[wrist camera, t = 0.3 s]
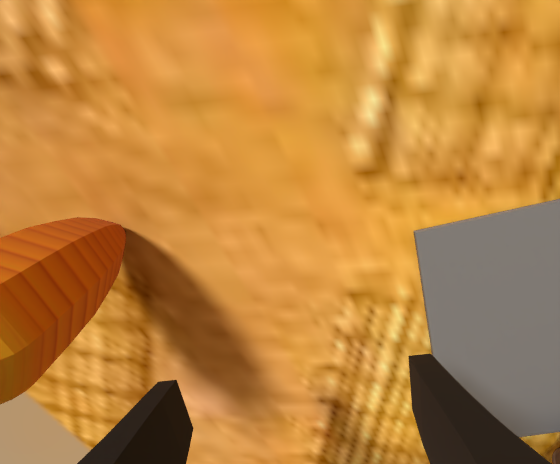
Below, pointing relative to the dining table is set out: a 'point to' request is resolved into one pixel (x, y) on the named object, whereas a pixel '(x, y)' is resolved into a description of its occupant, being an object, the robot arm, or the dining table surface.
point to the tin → (556, 456)
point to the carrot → (51, 292)
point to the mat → (498, 311)
